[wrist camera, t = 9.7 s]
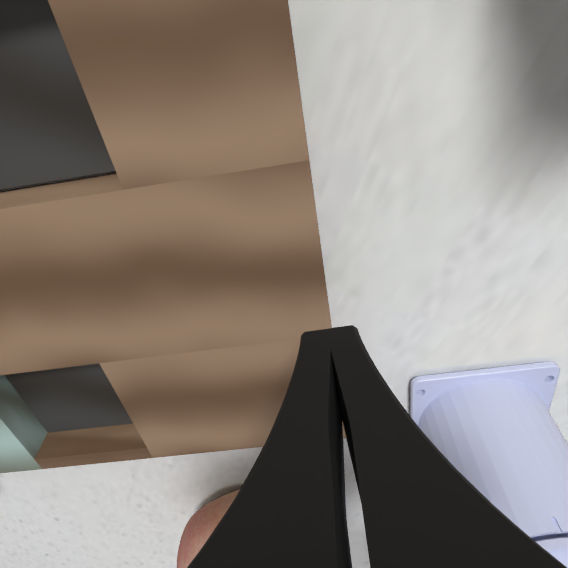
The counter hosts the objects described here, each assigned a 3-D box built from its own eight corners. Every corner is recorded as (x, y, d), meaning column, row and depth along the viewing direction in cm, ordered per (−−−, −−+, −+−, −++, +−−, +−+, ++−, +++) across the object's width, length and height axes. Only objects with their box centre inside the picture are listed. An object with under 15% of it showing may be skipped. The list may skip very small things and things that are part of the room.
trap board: (342, 409, 27) (352, 479, 24) (-45, 451, 30) (-91, 520, 26) (270, -127, 13) (266, -161, 10) (-457, 33, 16) (-685, 55, 12)
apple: (191, 520, 35) (171, 647, 28) (185, 463, 31) (159, 599, 24) (293, 523, 35) (296, 650, 29) (301, 467, 31) (307, 602, 24)
